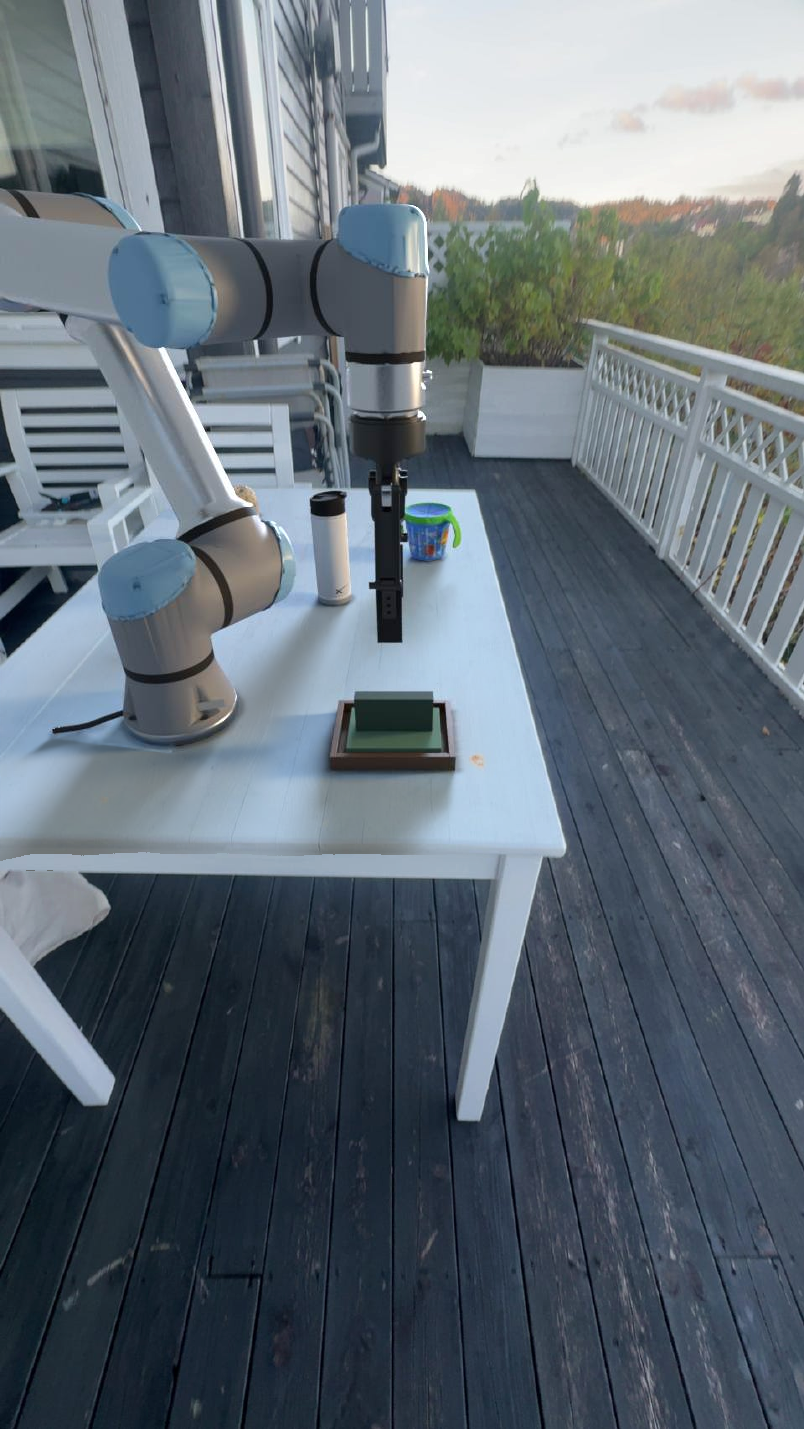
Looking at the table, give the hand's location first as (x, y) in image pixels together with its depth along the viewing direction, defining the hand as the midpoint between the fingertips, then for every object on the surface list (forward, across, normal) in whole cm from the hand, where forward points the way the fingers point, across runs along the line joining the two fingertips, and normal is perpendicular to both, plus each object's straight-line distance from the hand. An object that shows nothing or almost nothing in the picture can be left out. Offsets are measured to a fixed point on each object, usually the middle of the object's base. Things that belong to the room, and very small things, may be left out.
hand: (391, 617), depth 73 cm
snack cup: (+18, +66, -6) cm, 69 cm away
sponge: (+18, +94, +41) cm, 104 cm away
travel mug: (+18, +44, +12) cm, 49 cm away
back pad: (+17, 0, 0) cm, 17 cm away
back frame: (+18, 0, 0) cm, 18 cm away
